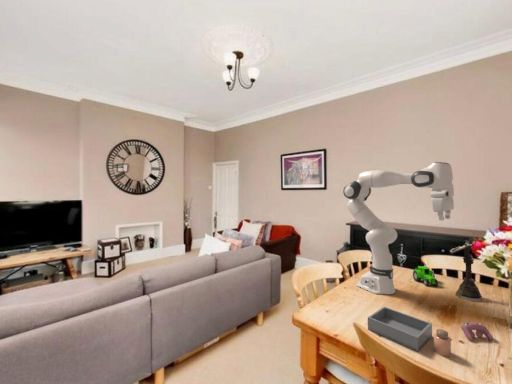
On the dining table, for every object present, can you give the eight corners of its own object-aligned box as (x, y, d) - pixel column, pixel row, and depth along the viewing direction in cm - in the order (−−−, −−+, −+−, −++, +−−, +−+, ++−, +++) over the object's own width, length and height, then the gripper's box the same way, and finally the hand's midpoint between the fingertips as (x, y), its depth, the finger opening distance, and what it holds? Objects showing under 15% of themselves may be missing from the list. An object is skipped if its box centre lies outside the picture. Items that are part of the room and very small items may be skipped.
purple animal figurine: (486, 340, 105) (480, 321, 108) (495, 341, 100) (488, 322, 104) (463, 340, 105) (457, 321, 108) (471, 341, 101) (464, 322, 104)
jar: (432, 351, 96) (431, 331, 96) (436, 346, 99) (436, 326, 99) (448, 358, 92) (448, 337, 92) (452, 352, 95) (452, 332, 95)
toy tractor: (424, 287, 158) (424, 271, 157) (411, 278, 174) (411, 264, 174) (442, 287, 156) (442, 272, 156) (428, 278, 172) (428, 264, 172)
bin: (367, 329, 111) (367, 317, 111) (384, 317, 121) (384, 306, 121) (417, 351, 96) (417, 337, 96) (432, 336, 106) (431, 323, 105)
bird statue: (442, 295, 146) (441, 236, 145) (448, 288, 154) (447, 233, 154) (480, 304, 133) (479, 240, 133) (483, 297, 141) (483, 236, 141)
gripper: (442, 192, 137) (444, 217, 137) (428, 193, 124) (430, 221, 124) (456, 192, 132) (458, 217, 132) (443, 193, 119) (445, 221, 119)
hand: (444, 219), depth 128 cm, fingers open, 8 cm apart
